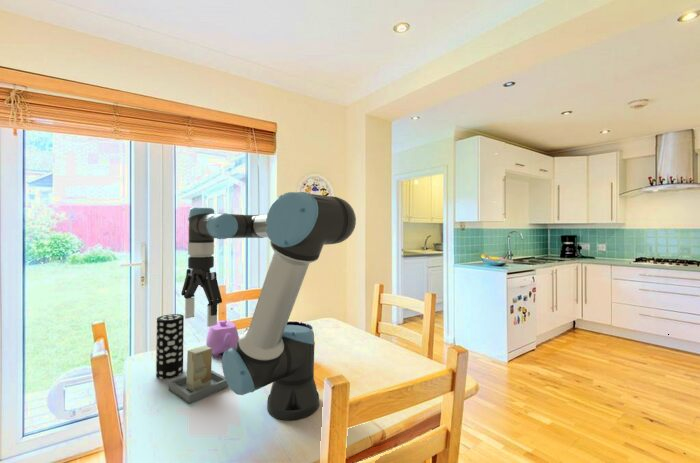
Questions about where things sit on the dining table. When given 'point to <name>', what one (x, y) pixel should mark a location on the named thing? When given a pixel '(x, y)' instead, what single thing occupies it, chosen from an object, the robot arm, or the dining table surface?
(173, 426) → the dining table surface
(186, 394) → the tray
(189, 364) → the skincare box
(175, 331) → the white-spotted black cylinder
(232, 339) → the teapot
